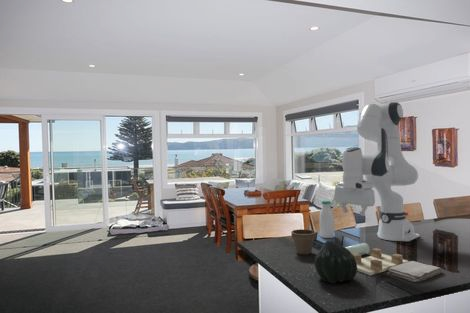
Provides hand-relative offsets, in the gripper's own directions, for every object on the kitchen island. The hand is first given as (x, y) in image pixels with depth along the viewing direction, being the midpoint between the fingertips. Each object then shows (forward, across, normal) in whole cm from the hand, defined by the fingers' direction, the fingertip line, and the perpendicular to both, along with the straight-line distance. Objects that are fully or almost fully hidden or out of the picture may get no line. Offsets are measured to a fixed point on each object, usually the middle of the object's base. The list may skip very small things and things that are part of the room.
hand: (353, 214), depth 155 cm
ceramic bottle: (+19, 0, -2) cm, 19 cm away
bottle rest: (+19, +13, -2) cm, 23 cm away
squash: (+20, +15, -28) cm, 37 cm away
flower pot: (+19, -17, -15) cm, 30 cm away
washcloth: (+20, +27, +2) cm, 34 cm away
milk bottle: (+19, -32, +15) cm, 40 cm away
